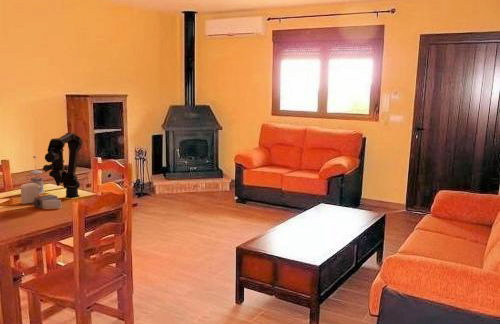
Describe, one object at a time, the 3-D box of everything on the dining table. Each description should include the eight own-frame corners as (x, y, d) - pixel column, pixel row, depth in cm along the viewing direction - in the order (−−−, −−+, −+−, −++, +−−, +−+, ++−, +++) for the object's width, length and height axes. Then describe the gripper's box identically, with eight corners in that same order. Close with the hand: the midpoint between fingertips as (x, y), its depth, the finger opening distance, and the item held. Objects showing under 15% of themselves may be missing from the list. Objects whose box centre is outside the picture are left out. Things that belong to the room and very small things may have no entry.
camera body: (49, 202, 266) (49, 193, 265) (58, 204, 262) (57, 195, 261) (32, 207, 256) (31, 197, 255) (40, 209, 252) (39, 199, 251)
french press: (41, 194, 286) (38, 157, 282) (23, 194, 286) (20, 157, 282) (48, 190, 296) (45, 154, 291) (31, 190, 296) (28, 154, 292)
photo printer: (39, 200, 271) (38, 181, 268) (40, 202, 267) (39, 182, 265) (21, 203, 265) (19, 183, 263) (22, 204, 262) (20, 184, 259)
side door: (61, 207, 255) (60, 199, 254) (60, 208, 254) (60, 200, 253) (42, 208, 254) (42, 199, 253) (42, 209, 252) (41, 200, 251)
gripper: (48, 157, 268) (50, 181, 271) (38, 162, 250) (40, 188, 253) (67, 156, 270) (69, 181, 273) (59, 162, 252) (60, 188, 254)
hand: (59, 184), depth 263 cm, fingers open, 7 cm apart
